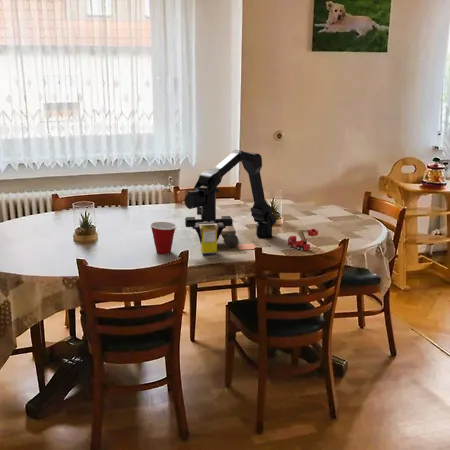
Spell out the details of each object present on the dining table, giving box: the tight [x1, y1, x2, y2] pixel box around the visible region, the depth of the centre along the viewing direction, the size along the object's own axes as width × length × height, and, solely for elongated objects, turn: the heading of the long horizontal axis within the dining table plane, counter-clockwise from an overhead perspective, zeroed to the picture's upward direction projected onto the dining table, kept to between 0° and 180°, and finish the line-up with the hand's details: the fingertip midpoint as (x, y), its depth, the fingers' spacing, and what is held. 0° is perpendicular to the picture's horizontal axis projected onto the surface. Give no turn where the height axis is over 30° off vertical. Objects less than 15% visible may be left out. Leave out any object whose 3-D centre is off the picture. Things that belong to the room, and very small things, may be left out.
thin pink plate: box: [236, 243, 256, 251], centre depth 230 cm, size 7×7×1 cm
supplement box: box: [200, 224, 218, 256], centre depth 220 cm, size 6×6×11 cm
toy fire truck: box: [287, 228, 319, 252], centre depth 227 cm, size 3×14×10 cm, turn 45°
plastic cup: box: [149, 221, 178, 255], centre depth 221 cm, size 11×11×12 cm
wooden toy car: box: [199, 224, 239, 249], centre depth 233 cm, size 16×13×7 cm
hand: (208, 241), depth 221 cm, fingers closed on supplement box, 6 cm apart
